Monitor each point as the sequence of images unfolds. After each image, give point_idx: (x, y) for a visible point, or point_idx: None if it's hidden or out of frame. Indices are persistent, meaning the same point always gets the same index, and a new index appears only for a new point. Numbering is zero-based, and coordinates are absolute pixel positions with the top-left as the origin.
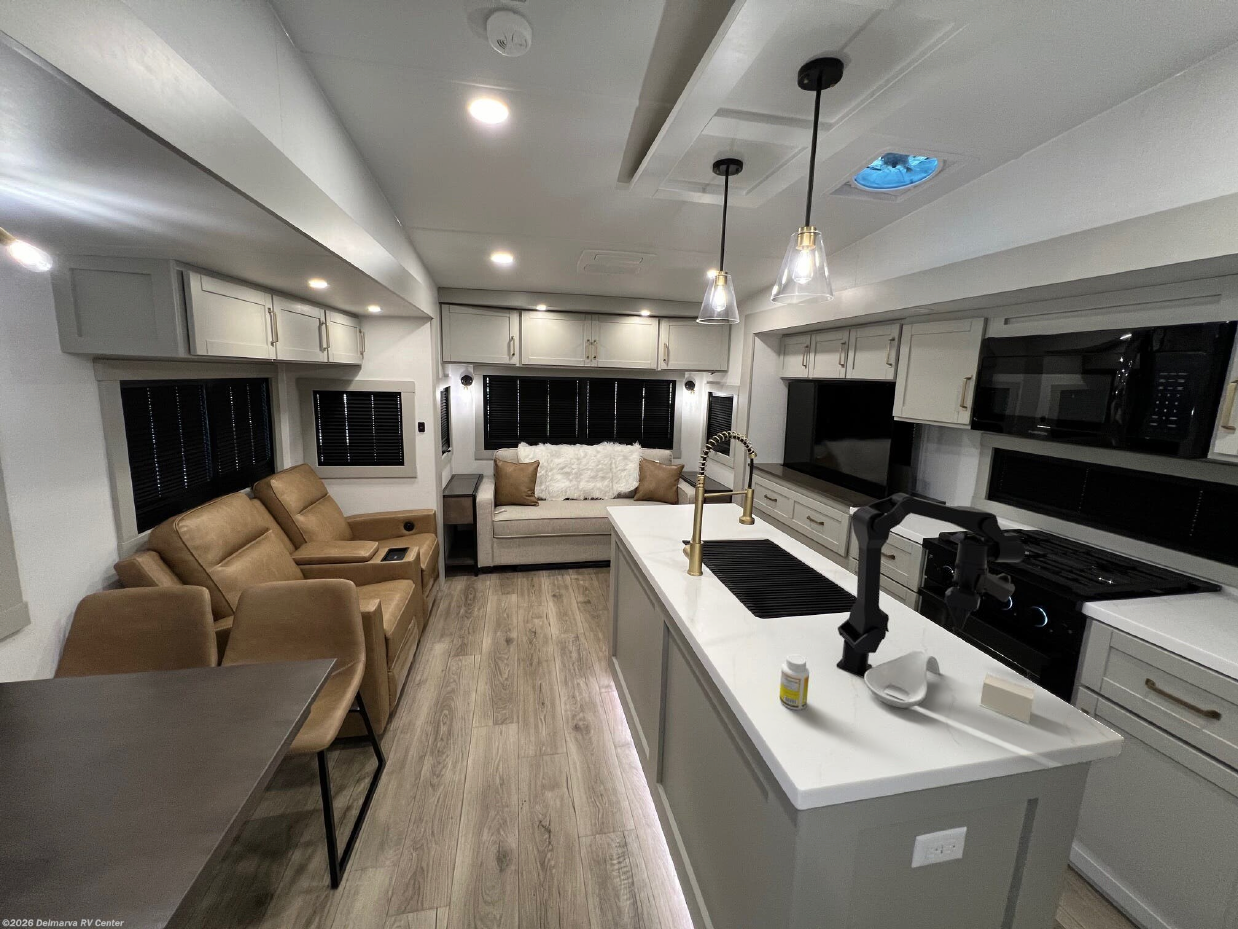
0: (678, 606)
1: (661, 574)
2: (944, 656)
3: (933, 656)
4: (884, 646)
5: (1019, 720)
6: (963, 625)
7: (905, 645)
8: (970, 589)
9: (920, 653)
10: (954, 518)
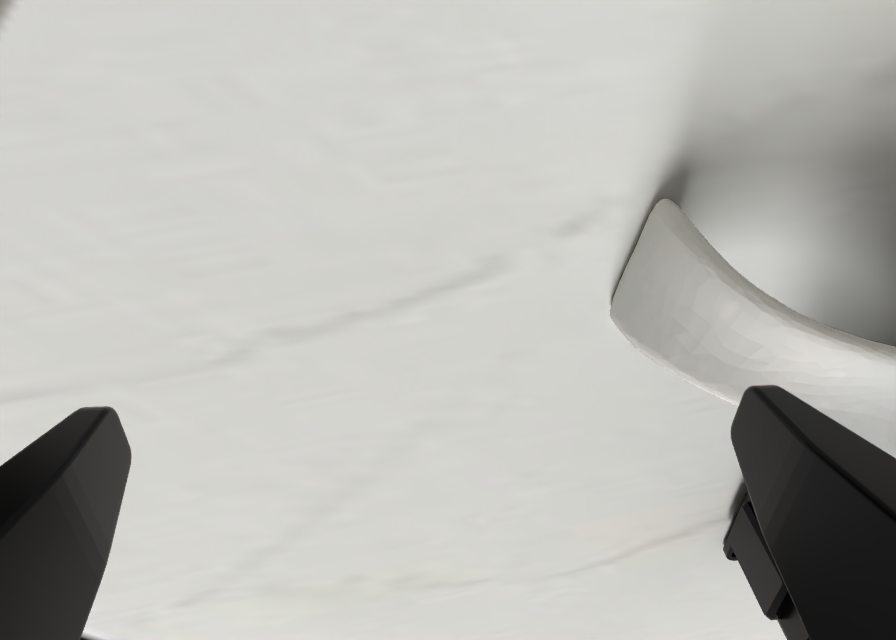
0: None
1: None
2: (283, 228)
3: (819, 337)
4: (458, 483)
5: None
6: (856, 434)
7: (342, 422)
8: None
9: (873, 415)
10: None
